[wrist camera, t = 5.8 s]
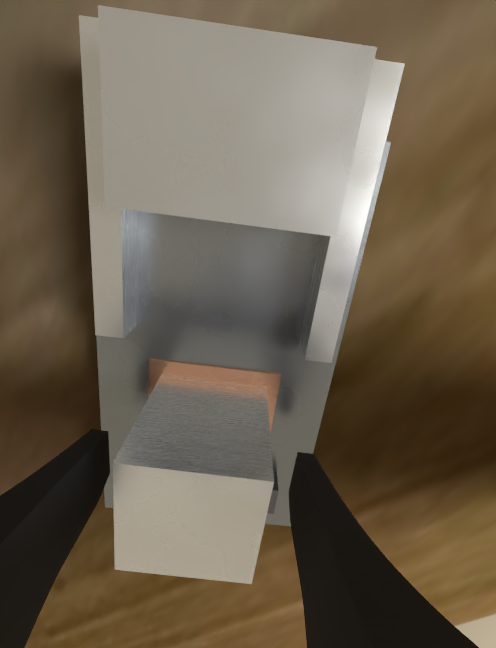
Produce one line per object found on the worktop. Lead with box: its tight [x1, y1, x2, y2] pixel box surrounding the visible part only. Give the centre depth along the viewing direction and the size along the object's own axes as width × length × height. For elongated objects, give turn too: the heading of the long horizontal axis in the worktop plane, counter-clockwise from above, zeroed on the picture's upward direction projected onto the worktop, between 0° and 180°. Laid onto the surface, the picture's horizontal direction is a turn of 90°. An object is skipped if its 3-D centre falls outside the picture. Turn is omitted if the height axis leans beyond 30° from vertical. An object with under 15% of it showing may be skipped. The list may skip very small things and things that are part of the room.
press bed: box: [79, 15, 405, 526], centre depth 13 cm, size 10×20×3 cm, turn 173°
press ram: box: [98, 5, 377, 237], centre depth 9 cm, size 6×4×3 cm, turn 83°
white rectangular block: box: [113, 373, 274, 584], centre depth 12 cm, size 4×4×5 cm
